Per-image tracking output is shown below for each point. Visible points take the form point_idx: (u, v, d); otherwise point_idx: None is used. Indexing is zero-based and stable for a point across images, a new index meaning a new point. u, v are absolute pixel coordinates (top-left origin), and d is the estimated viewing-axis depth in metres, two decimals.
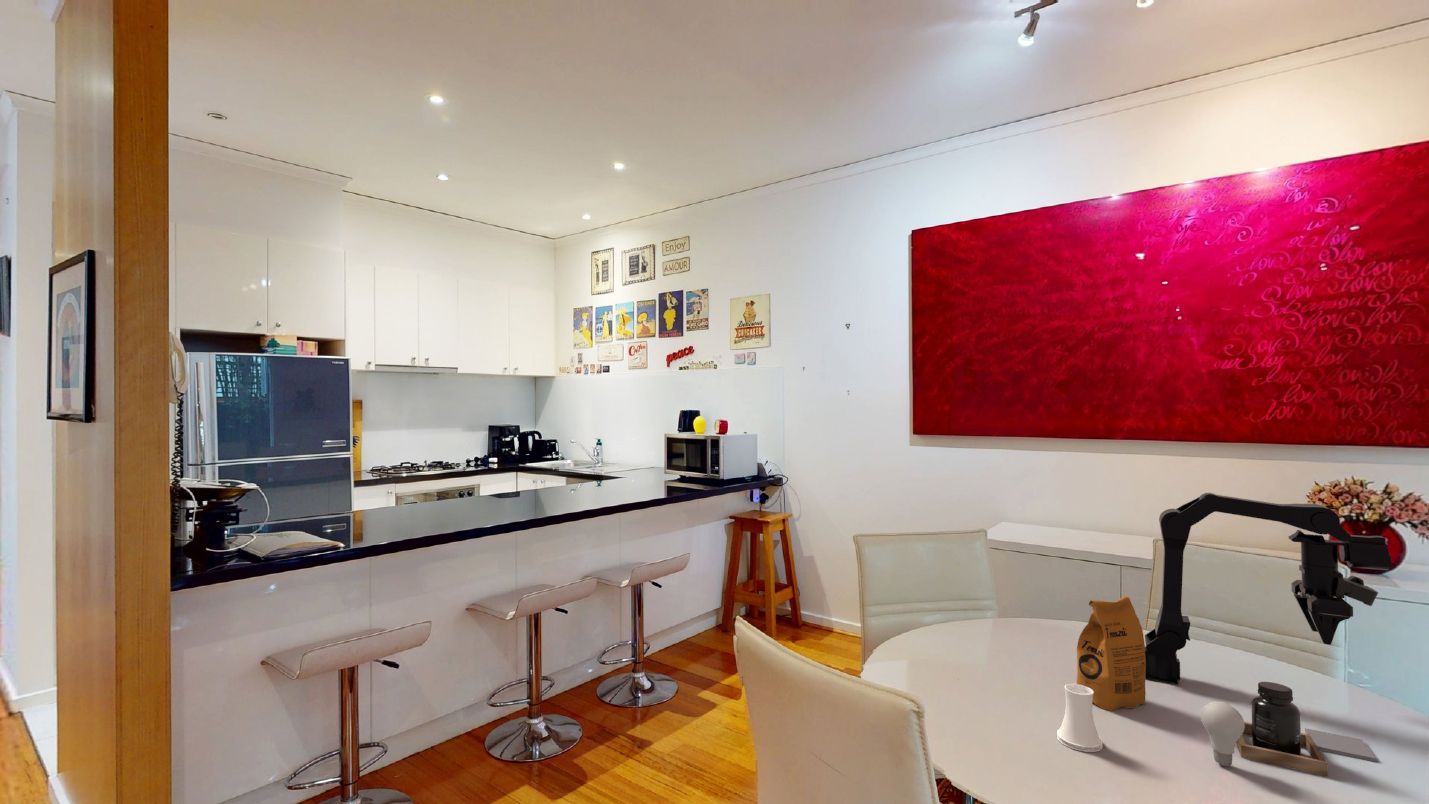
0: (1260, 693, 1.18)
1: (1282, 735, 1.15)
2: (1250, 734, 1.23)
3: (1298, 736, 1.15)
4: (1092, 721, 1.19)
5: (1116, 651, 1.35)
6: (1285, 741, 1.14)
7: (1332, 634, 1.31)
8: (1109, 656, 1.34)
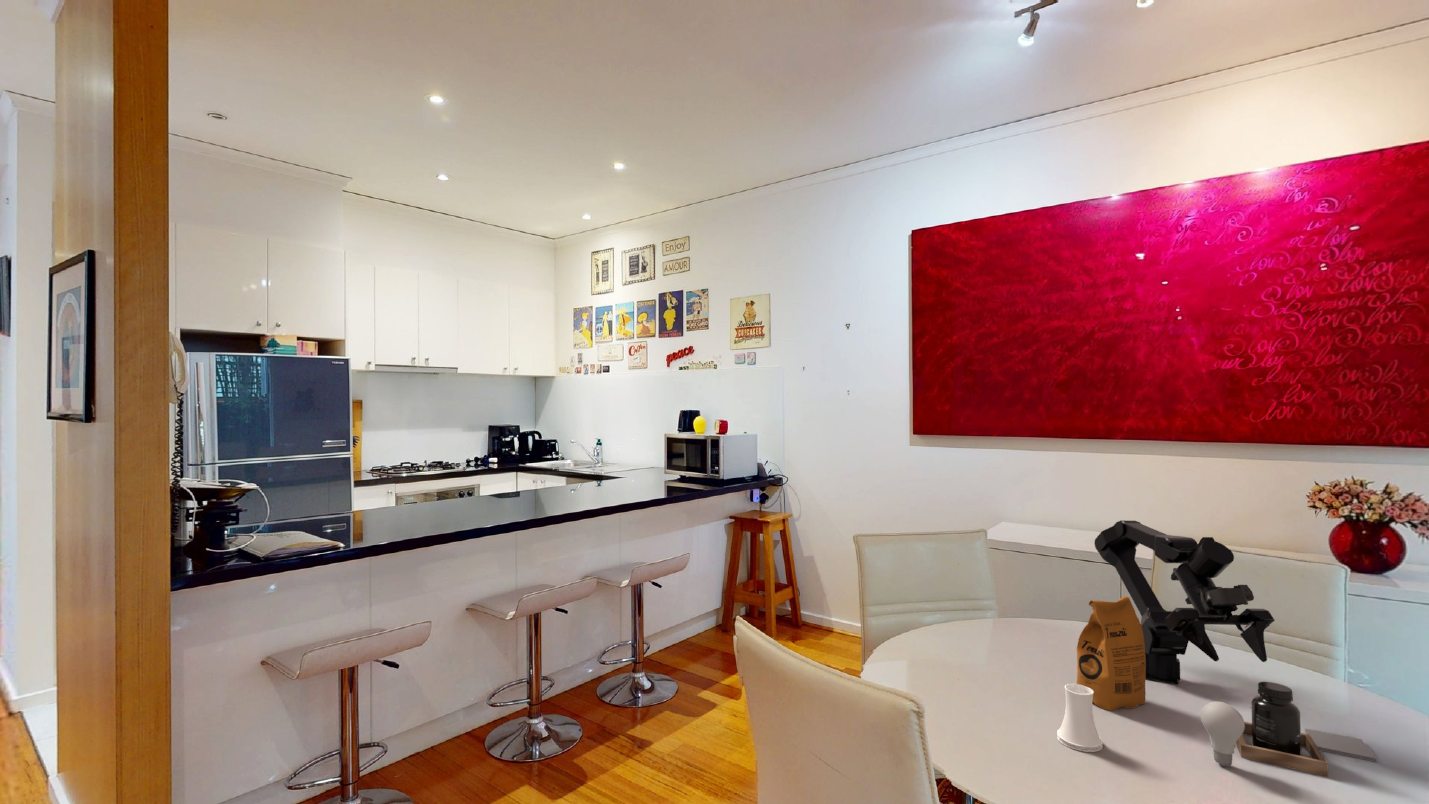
0: (1260, 693, 1.18)
1: (1282, 735, 1.15)
2: (1250, 734, 1.23)
3: (1298, 736, 1.15)
4: (1092, 721, 1.19)
5: (1116, 651, 1.35)
6: (1285, 741, 1.14)
7: (1208, 647, 1.28)
8: (1109, 656, 1.34)
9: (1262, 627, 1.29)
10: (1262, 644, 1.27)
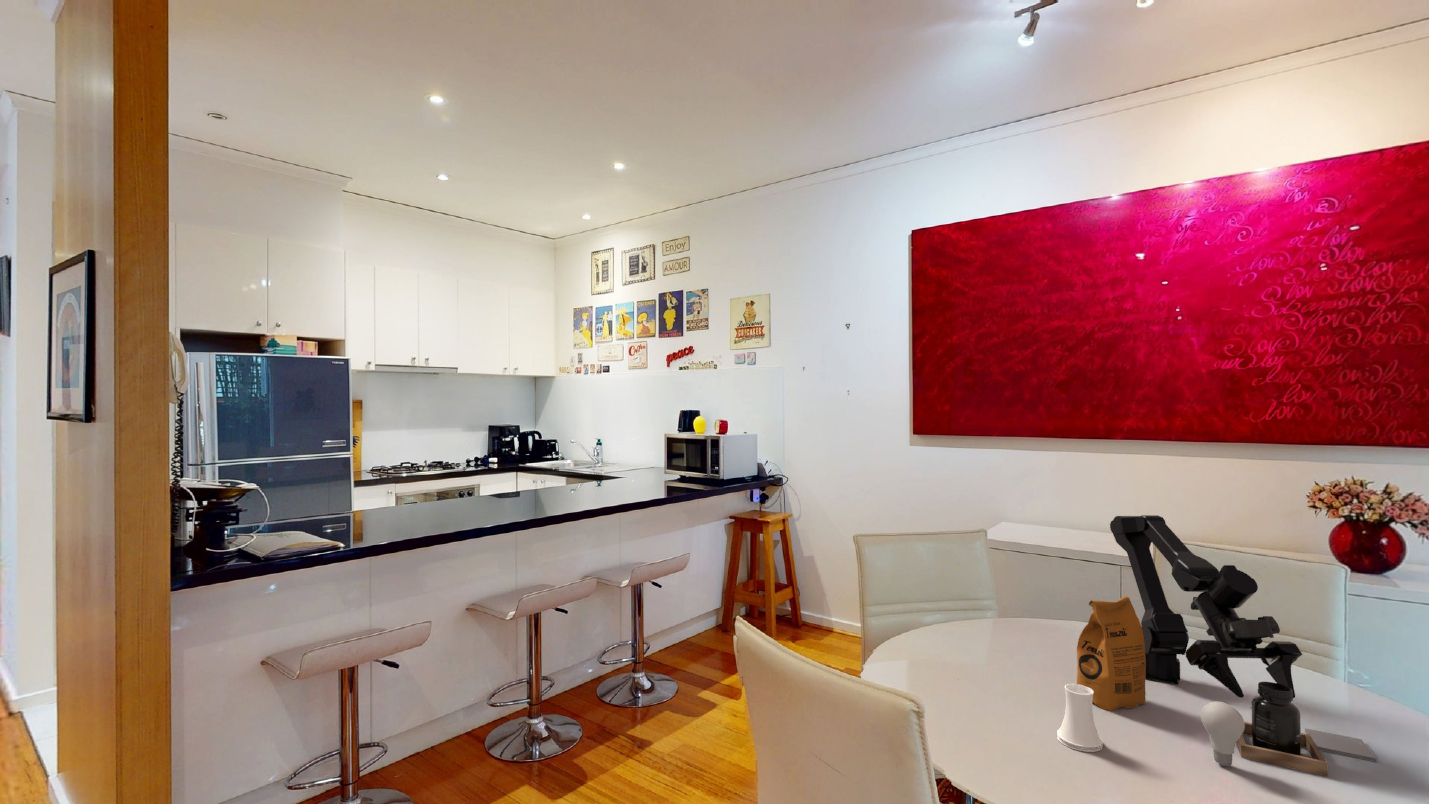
0: (1260, 693, 1.18)
1: (1282, 735, 1.15)
2: (1250, 734, 1.23)
3: (1298, 736, 1.15)
4: (1092, 721, 1.20)
5: (1116, 651, 1.35)
6: (1285, 741, 1.14)
7: (1232, 682, 1.21)
8: (1109, 656, 1.34)
9: (1289, 661, 1.22)
10: (1290, 680, 1.21)
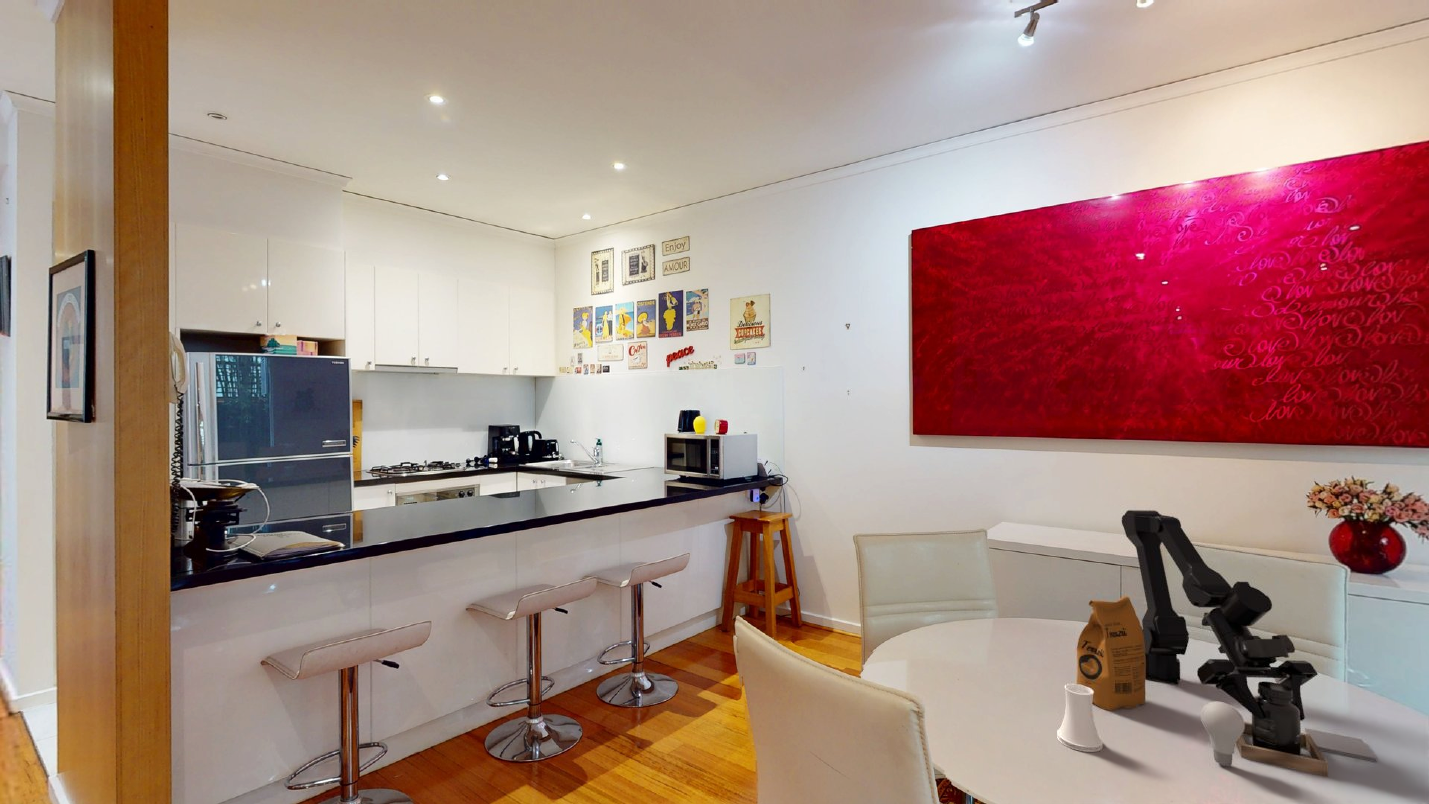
0: (1260, 693, 1.18)
1: (1282, 735, 1.15)
2: (1250, 734, 1.23)
3: (1298, 736, 1.15)
4: (1092, 721, 1.20)
5: (1116, 651, 1.35)
6: (1285, 741, 1.14)
7: (1251, 703, 1.18)
8: (1109, 656, 1.34)
9: (1298, 682, 1.19)
10: (1299, 701, 1.17)
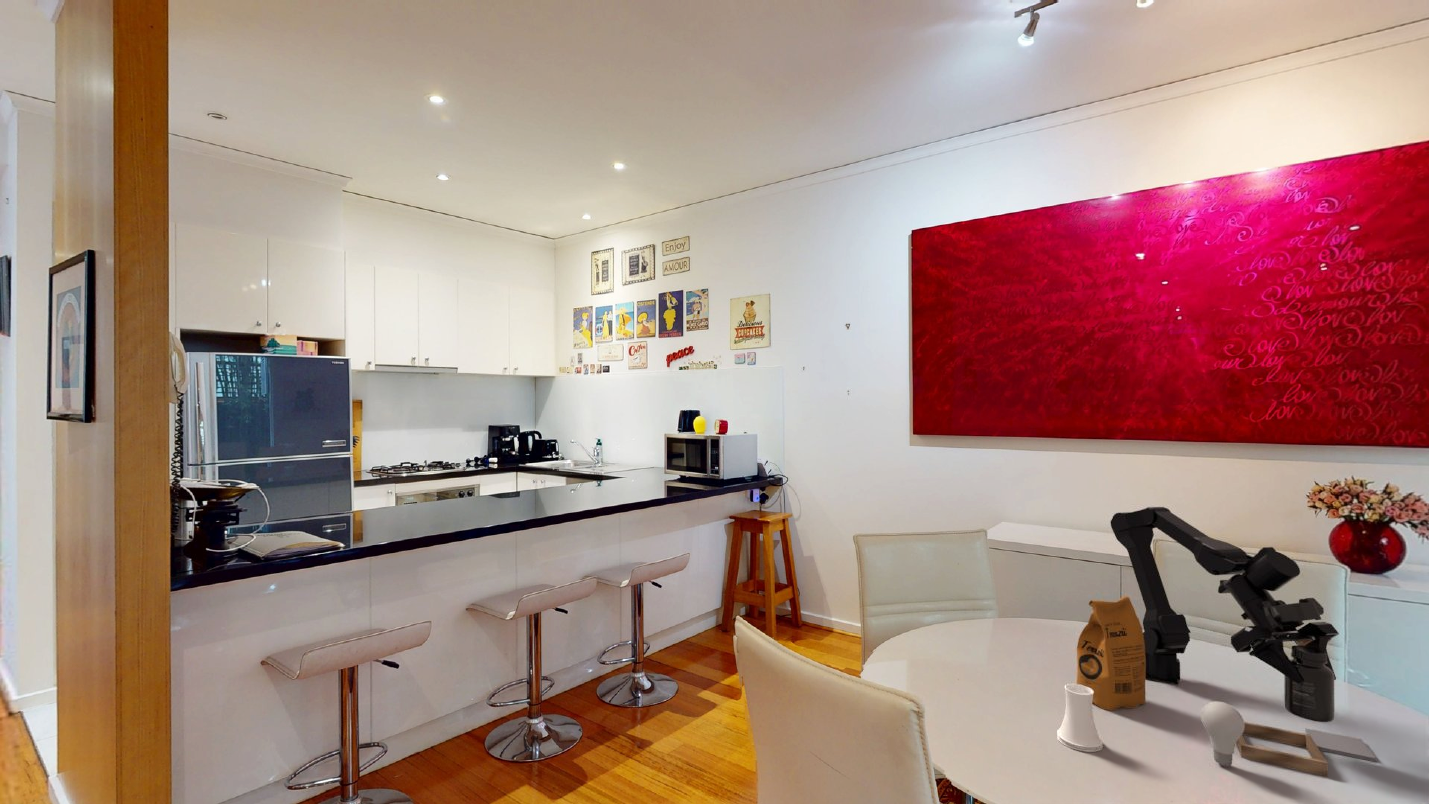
0: (1296, 657, 1.18)
1: (1321, 697, 1.15)
2: (1250, 734, 1.23)
3: (1333, 697, 1.15)
4: (1092, 721, 1.20)
5: (1116, 651, 1.35)
6: (1323, 703, 1.15)
7: (1290, 668, 1.18)
8: (1109, 656, 1.34)
9: (1325, 643, 1.20)
10: (1328, 662, 1.19)
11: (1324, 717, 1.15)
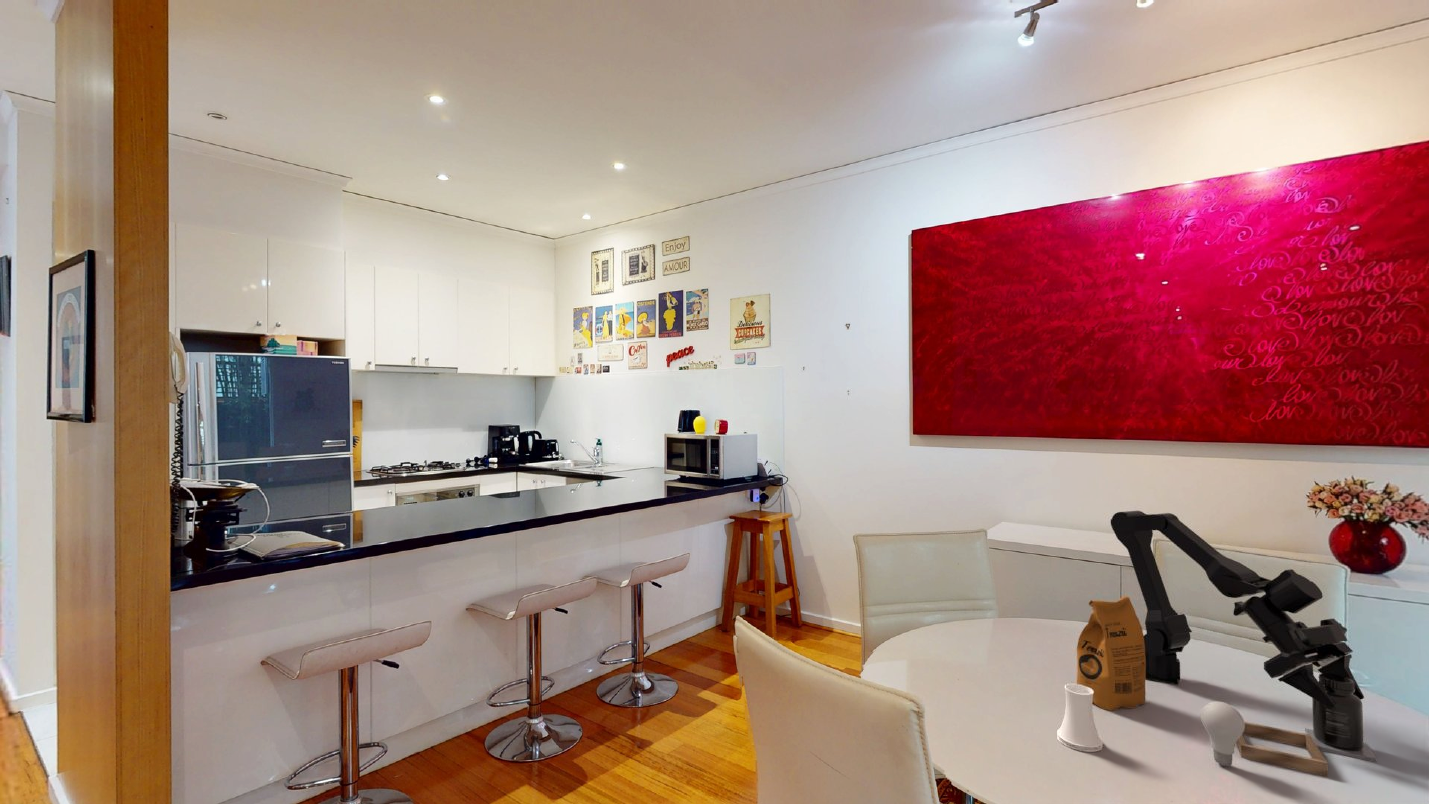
0: (1327, 687, 1.19)
1: (1354, 726, 1.16)
2: (1250, 734, 1.23)
3: (1362, 724, 1.18)
4: (1092, 721, 1.20)
5: (1116, 651, 1.35)
6: (1357, 732, 1.16)
7: (1322, 693, 1.18)
8: (1109, 656, 1.34)
9: (1348, 661, 1.23)
10: (1354, 680, 1.22)
11: (1357, 745, 1.16)
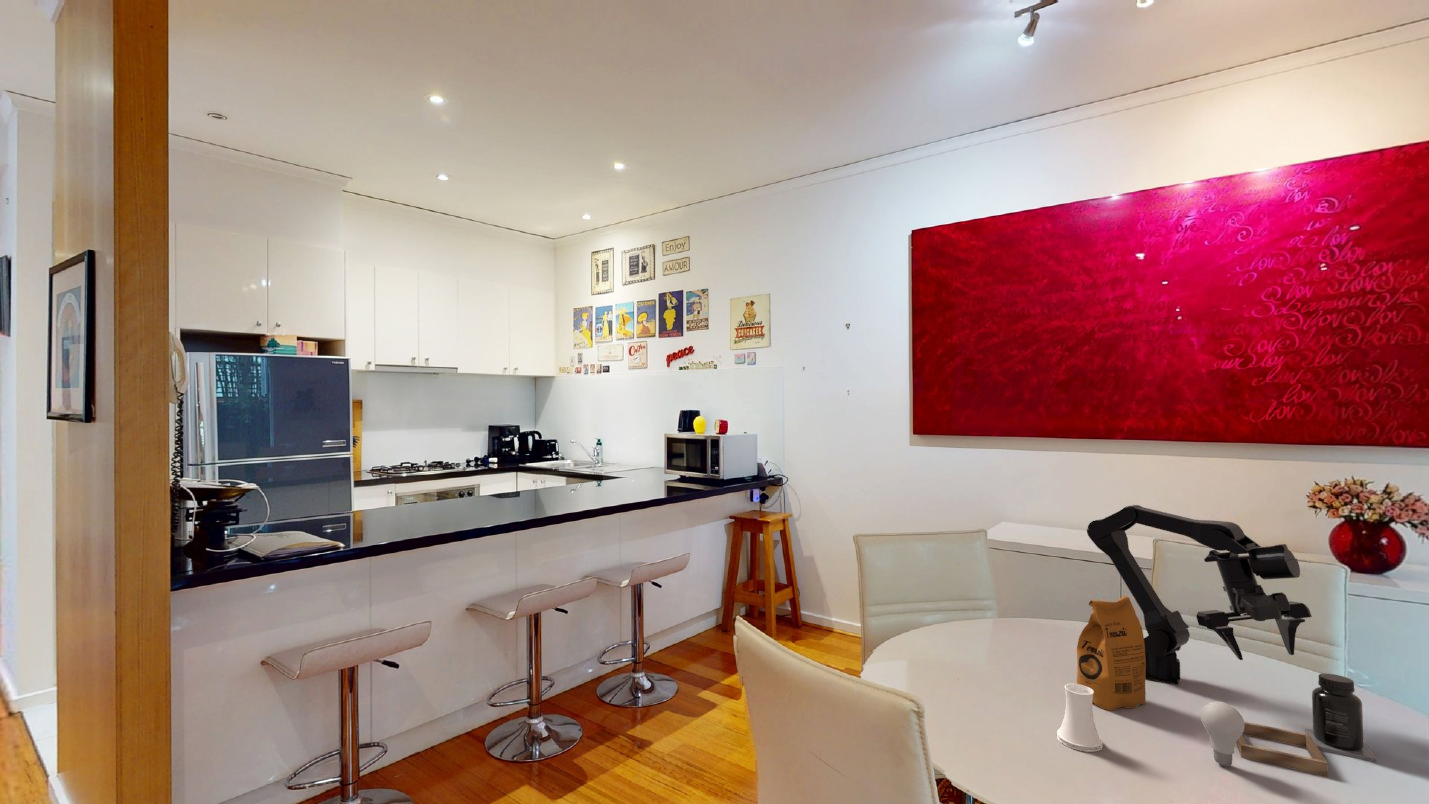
0: (1327, 687, 1.19)
1: (1354, 726, 1.16)
2: (1250, 734, 1.23)
3: (1362, 724, 1.18)
4: (1092, 721, 1.20)
5: (1116, 651, 1.35)
6: (1357, 732, 1.16)
7: (1234, 648, 1.35)
8: (1109, 656, 1.34)
9: (1296, 625, 1.32)
10: (1292, 640, 1.32)
11: (1357, 745, 1.16)
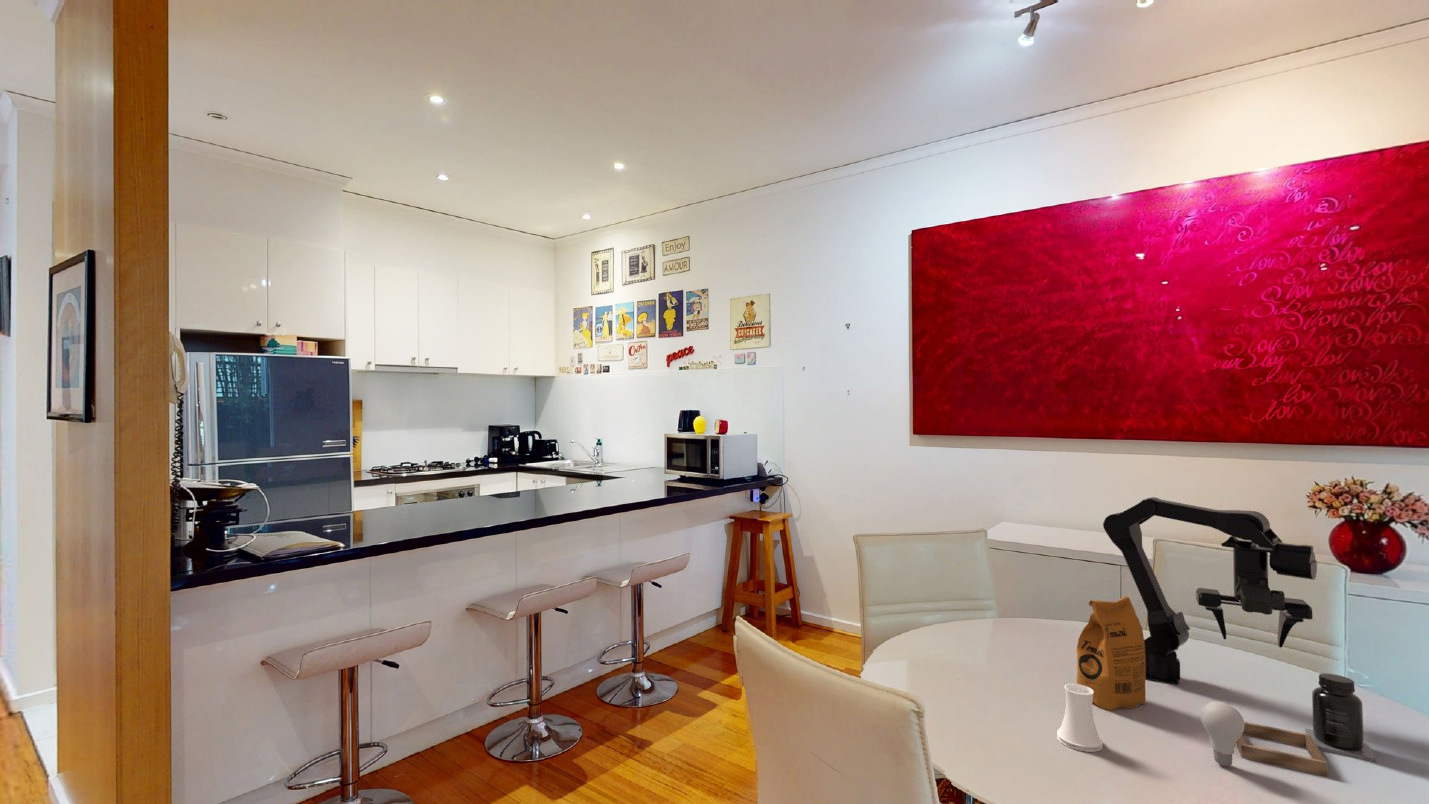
0: (1327, 687, 1.19)
1: (1354, 726, 1.16)
2: (1250, 734, 1.23)
3: (1362, 724, 1.18)
4: (1092, 721, 1.20)
5: (1116, 651, 1.35)
6: (1357, 732, 1.16)
7: (1220, 628, 1.40)
8: (1109, 656, 1.34)
9: (1292, 622, 1.32)
10: (1284, 635, 1.34)
11: (1357, 745, 1.16)
